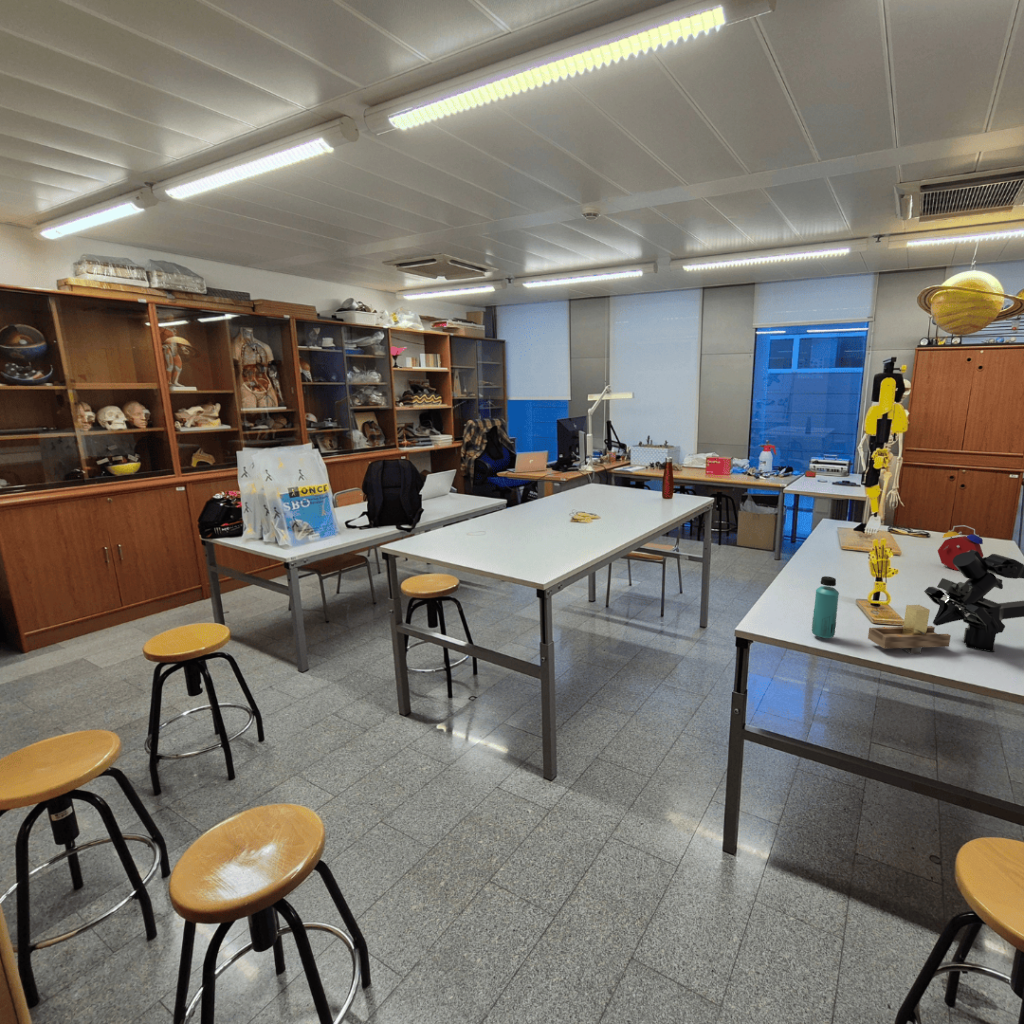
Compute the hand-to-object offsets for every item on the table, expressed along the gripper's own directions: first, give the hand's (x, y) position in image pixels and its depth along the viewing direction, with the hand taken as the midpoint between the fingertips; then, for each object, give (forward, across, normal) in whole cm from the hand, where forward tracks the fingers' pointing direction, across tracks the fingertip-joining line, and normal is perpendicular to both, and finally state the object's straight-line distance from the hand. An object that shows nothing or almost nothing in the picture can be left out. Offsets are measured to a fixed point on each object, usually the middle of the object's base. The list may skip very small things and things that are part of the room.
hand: (934, 624), depth 165 cm
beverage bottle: (+26, -9, -15) cm, 31 cm away
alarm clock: (-47, -73, +58) cm, 105 cm away
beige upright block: (+7, 0, -2) cm, 7 cm away
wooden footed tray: (+11, 0, 0) cm, 11 cm away
